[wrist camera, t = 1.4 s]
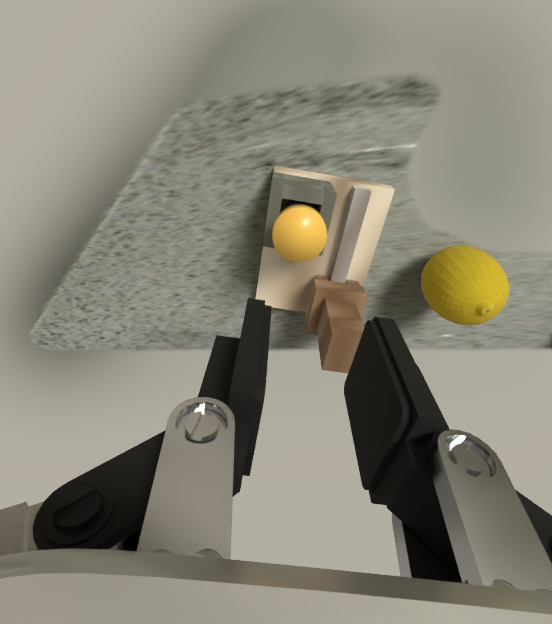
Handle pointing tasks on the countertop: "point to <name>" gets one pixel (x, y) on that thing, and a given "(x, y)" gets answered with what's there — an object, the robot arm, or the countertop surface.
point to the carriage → (336, 321)
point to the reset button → (299, 232)
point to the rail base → (340, 234)
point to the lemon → (464, 285)
